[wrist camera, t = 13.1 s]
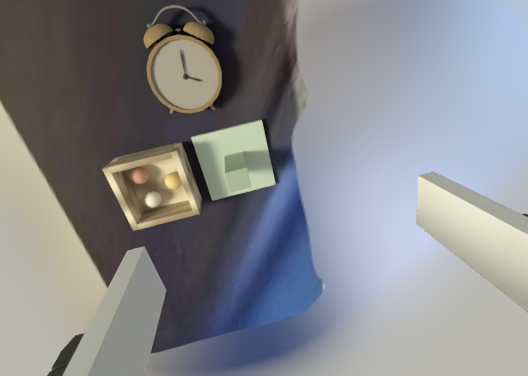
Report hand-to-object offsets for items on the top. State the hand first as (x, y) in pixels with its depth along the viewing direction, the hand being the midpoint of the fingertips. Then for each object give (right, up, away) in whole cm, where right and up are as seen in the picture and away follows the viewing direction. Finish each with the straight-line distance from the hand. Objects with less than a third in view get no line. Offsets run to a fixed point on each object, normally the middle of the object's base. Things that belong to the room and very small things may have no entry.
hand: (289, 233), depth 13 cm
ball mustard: (-18, +4, +37) cm, 41 cm away
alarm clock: (-14, +23, +31) cm, 41 cm away
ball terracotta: (-23, +5, +36) cm, 43 cm away
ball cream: (-22, +1, +38) cm, 44 cm away
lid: (-7, +7, +39) cm, 40 cm away
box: (-21, +4, +38) cm, 43 cm away
